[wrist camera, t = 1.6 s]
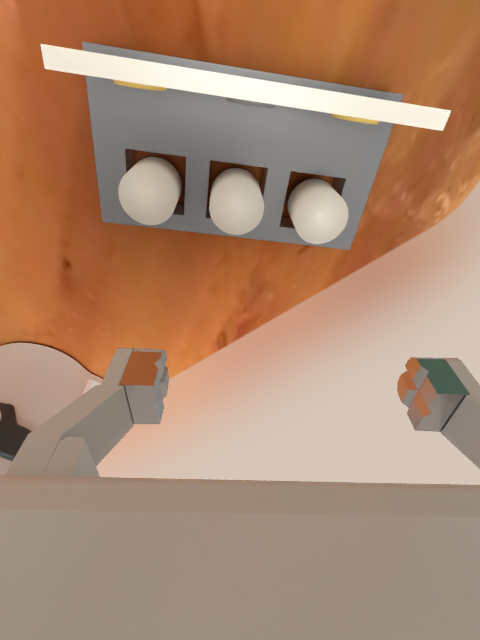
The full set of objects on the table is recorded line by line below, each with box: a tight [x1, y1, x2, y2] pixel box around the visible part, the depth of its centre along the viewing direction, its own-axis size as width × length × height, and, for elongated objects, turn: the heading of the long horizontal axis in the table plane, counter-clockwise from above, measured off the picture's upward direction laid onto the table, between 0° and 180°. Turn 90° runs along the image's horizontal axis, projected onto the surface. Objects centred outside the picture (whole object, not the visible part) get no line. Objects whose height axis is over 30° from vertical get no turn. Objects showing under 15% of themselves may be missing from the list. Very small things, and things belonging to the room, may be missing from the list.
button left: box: [118, 156, 182, 225], centre depth 28 cm, size 4×4×4 cm
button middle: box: [209, 168, 264, 235], centre depth 28 cm, size 4×4×4 cm
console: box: [41, 42, 451, 250], centre depth 26 cm, size 13×24×12 cm, turn 82°
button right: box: [288, 178, 348, 244], centre depth 29 cm, size 4×4×4 cm
